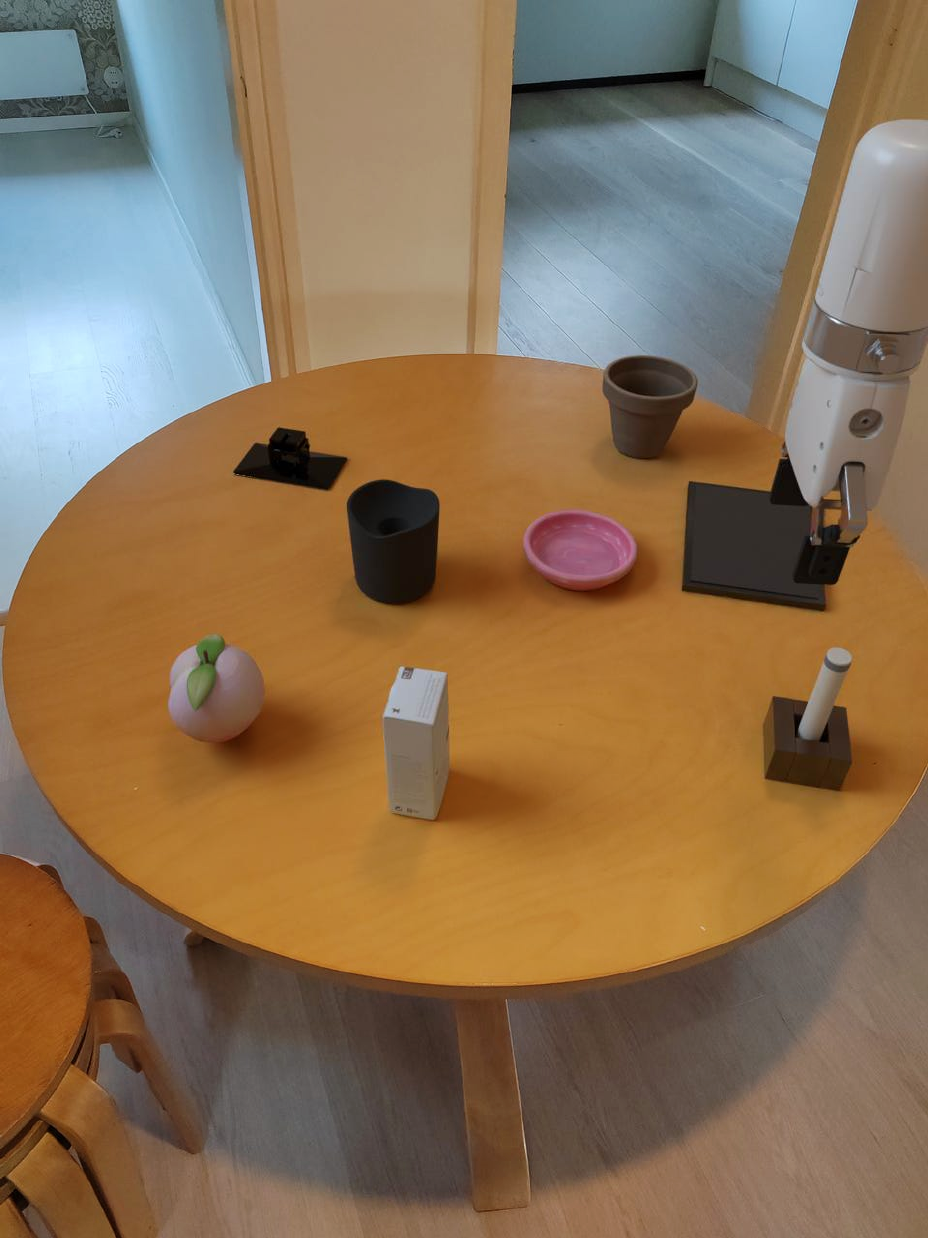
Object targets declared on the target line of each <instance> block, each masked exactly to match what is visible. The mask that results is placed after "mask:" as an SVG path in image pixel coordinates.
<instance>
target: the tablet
mask: <svg viewBox="0 0 928 1238" xmlns="http://www.w3.org/2000/svg"><path fill="white" fill-rule="evenodd" d="M770 492H771V490H763V489H755V488H749V487H748V488H747V487H739V486H731V485H725V484H724V485H723V484H715V483H708V482H701V481H694V480H693V481H692V480H689V481H688V484H687V495H686V511H685V512H686V513H685V527H684V528H685V529H684V542H683V543H684V544H683V545H684V546H683V559H682V560H683V562H682V575H681V576H682V577H681V591H683V592H689V593H695V594H701V595H702V594H703V595H710V596H715V597H723V598H724V597H725V598H731V599H738V600H745V601H751V602H758V603H766V604H772V605H780V606H785V607H793V608H800V609H806V610H807V609H808V610H813V611H821V612H824V611H825V610H826V607H827V599H826V598H827V597H826V588H825V585H820V584H800V583H795V582H794V580H793V577H792V574H793V571H794V568H795V564H796V561H797V558H798V555H799V552H800V549H801V546H802V543H803V539H804V536H810V535H811V519H812V506H810V505H807V506H793V505H774V504H771V502H770V499H769V496H770Z"/></svg>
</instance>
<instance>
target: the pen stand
mask: <svg viewBox="0 0 928 1238" xmlns="http://www.w3.org/2000/svg"><path fill="white" fill-rule="evenodd" d="M808 702H809V700H808V701H807V700H801V699H794V698H789V697H782V696H776V695H773V696H772V697H771V700H770V704H769V706H768V709H767V711H766V715H765V718H764V721H763V725H762V734H763V735H762V736H763V772H764V779H765V780H772V781H778V782H783V783H789V784H795V785H800V786H801V785H802V786H807V787H814V788H821V789H825V790H831V791H832V790H833V791H838V792H840V791H841V789H842V787H843V784H844V782H845V780H846V778H847V775H848V773H849V771H850V768H851V766H852V765H853V756H852V755H853V754H852V747H851V746H852V745H851V738H850V737H851V736H850V729H849V720H848V719H849V718H848V710H847V707H846V706H841V705H834V706H833V708H832V711H831V713H830V716H829V718H828V721H827V723H826V726H825V728H824V731H823V733H822V735H821V738H820V740H819V741H813V740H806V739H800V738H795V736H796V734H797V731H798V728H799V726H800V723H801V720H802V718H803V715H804V712H805V710H806V707H807V705H808Z"/></svg>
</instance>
